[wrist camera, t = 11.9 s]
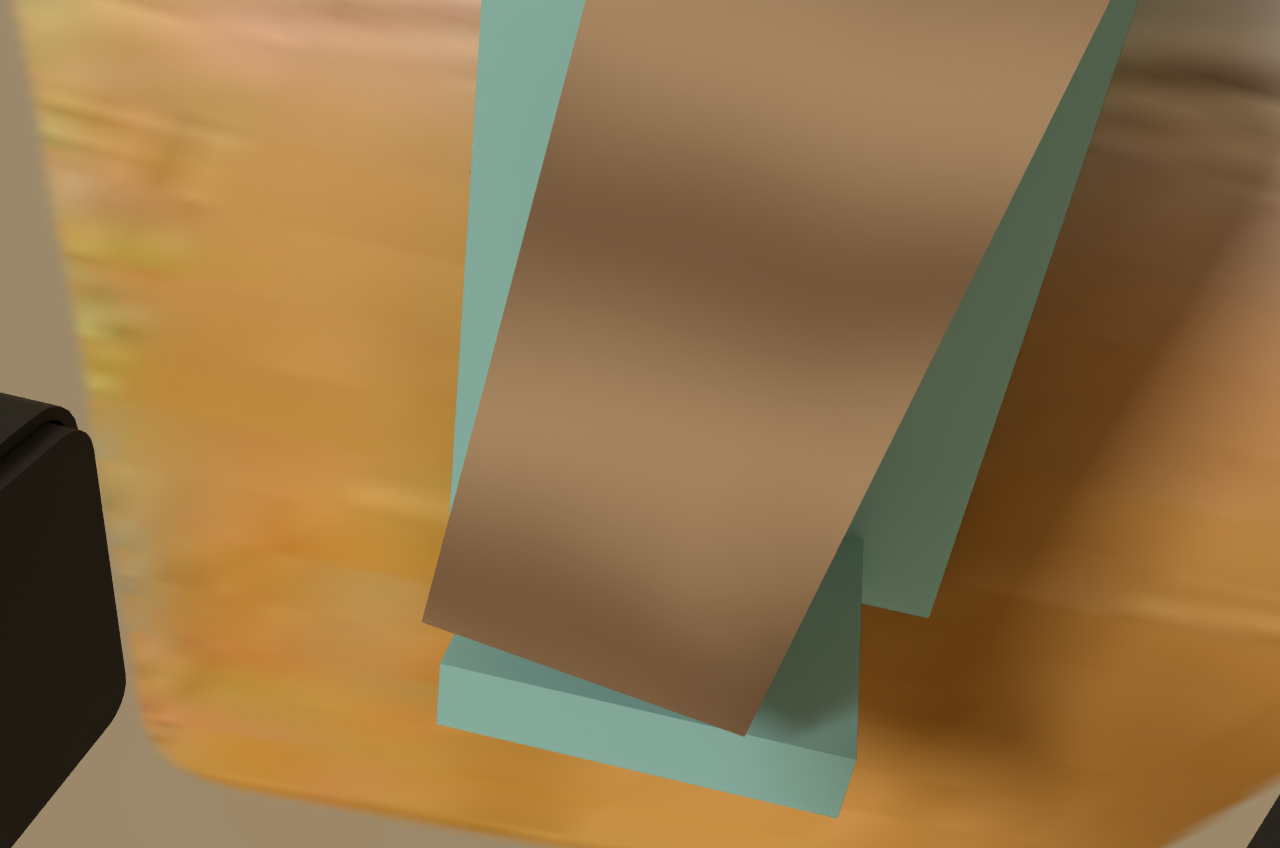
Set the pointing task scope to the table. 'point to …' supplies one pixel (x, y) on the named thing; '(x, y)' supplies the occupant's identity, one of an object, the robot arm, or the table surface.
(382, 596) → the table surface
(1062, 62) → the brown wooden block
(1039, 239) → the peg stand
